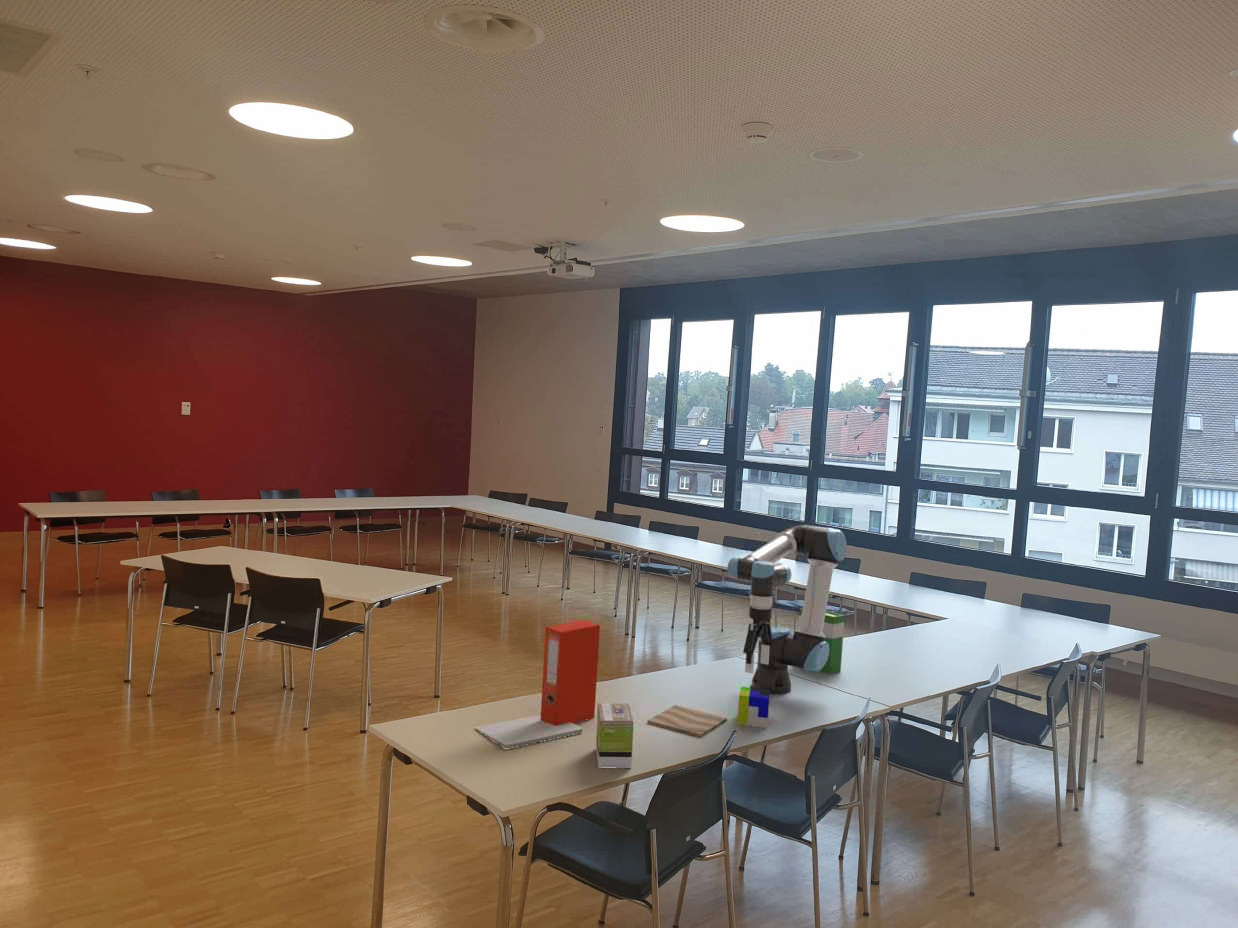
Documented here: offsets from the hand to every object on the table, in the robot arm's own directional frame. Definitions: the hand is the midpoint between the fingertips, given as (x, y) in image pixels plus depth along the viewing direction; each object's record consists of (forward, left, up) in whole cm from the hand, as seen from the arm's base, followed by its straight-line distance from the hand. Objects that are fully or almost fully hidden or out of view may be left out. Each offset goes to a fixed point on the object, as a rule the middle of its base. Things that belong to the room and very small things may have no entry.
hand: (756, 668), depth 301 cm
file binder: (+41, -49, -19) cm, 67 cm away
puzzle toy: (0, 0, -19) cm, 19 cm away
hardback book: (-79, -4, -19) cm, 81 cm away
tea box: (+59, -20, -19) cm, 65 cm away
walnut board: (+16, -17, -18) cm, 30 cm away
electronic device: (+57, -53, -19) cm, 80 cm away
